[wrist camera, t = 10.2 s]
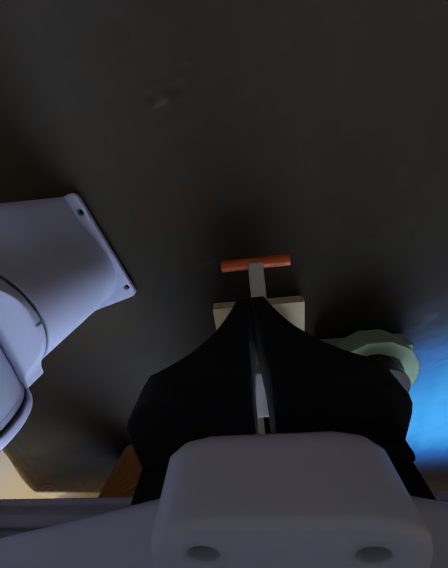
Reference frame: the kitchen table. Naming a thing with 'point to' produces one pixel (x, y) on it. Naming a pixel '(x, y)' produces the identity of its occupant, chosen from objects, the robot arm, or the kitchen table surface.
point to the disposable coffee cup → (123, 476)
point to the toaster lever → (257, 290)
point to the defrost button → (394, 369)
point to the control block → (381, 348)
